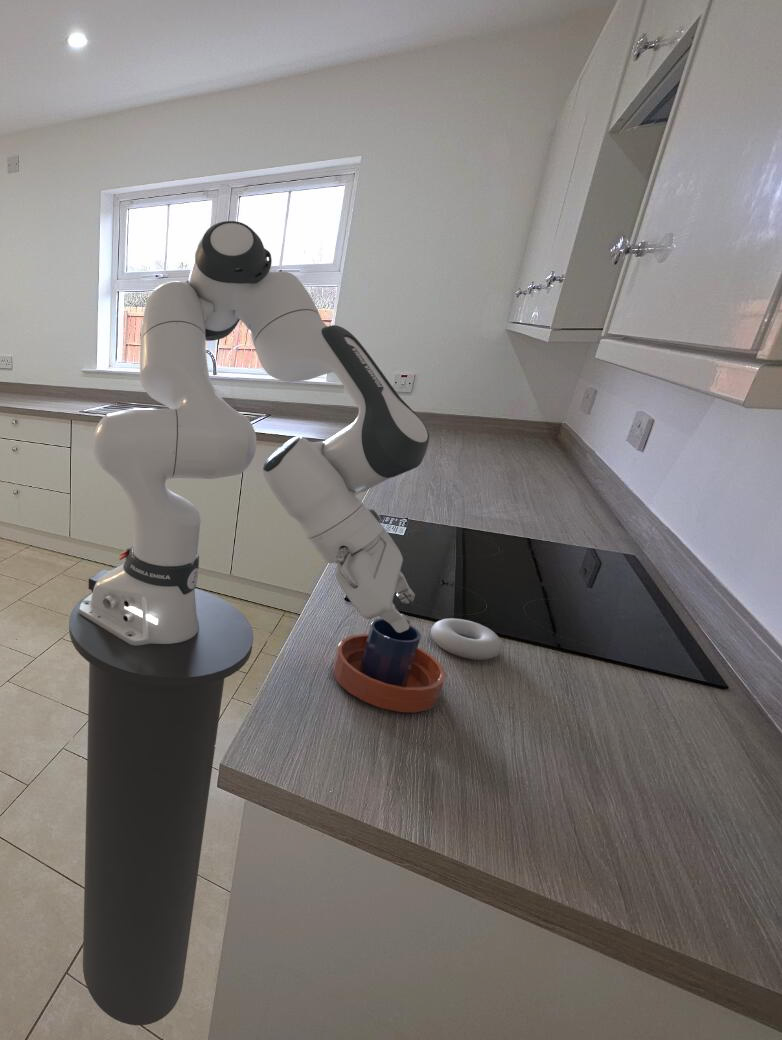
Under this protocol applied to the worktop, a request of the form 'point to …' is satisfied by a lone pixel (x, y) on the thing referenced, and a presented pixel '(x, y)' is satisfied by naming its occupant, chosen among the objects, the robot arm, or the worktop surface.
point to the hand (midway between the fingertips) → (407, 614)
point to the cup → (389, 653)
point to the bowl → (411, 698)
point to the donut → (466, 639)
